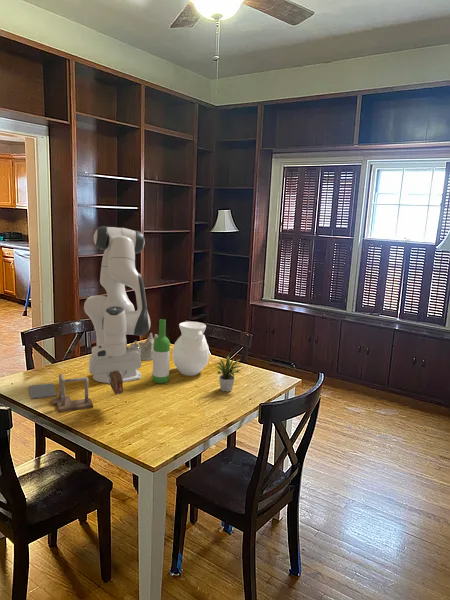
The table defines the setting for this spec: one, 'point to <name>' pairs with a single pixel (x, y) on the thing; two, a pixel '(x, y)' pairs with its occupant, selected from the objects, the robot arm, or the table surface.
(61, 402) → the buzz wire frame
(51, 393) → the mat
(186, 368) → the white ceramic vase
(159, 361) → the wine bottle
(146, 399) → the table surface
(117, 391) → the tin
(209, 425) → the table surface
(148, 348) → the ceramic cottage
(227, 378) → the house plant
